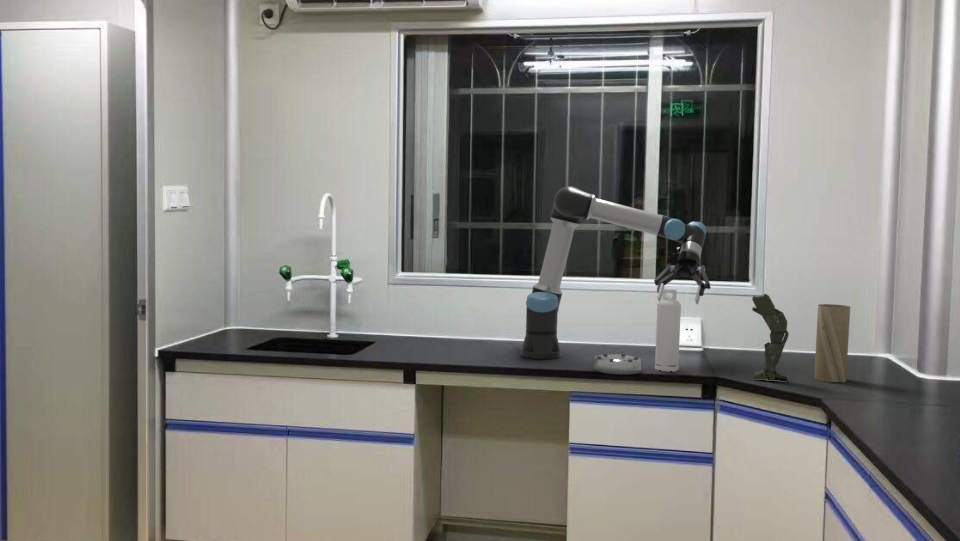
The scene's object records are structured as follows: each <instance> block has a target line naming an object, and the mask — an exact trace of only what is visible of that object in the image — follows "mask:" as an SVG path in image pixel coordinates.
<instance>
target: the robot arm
mask: <svg viewBox="0 0 960 541" xmlns="http://www.w3.org/2000/svg"><path fill="white" fill-rule="evenodd" d="M582 219H583V220H585V221H588V220H590V219H593V220H596V221H600V222H604V223H609V224H613V225H616V226H620V227H623V228H627V229H632V230H635V231H639V232H644V233H647V234H650V235H654V236H658V237H662V238H665V239H669V240H672V241H674V242H677V243H680V244H681V248H680V251H679V255H678V257H677V263H676V264H675V265H673V264H671V263H667V265H666V267H665V268H664V269H663V270H662V271H661V272H660V274H658V275H657V276H656V278H654V280H653V282H654V285H655V286H657V289H656V292H657V296H656V297H657V300H658V302H659V301H661V300H662V297H663V289H665V286H666V285H667V284H669V283H671V282H672V281H673V280H675V279H678V278H691V279H692V280H693V281H694V282H695V283H696V284H697V285H698V286H697V290H696V294H695V298H694V301H695V305H699V302H700V298H701V297H703V296H704V294H705V291H706V290H711V283H710V280H709V278H708V275H707V273H706V266H705V265H704V264H702V265H701V266H699V262H700V258H701V254H702V250H703V246H704V243H705V239H706V236H707V235H706V234H707V227H706V225H704V223H703V222H700V221H690V222H689V223H688V224H687V223H684V222H683V221H682V220H681V219H678V218H672V217H669V216H666V215H664V214H658V213H654V212H651V211H646V210H643V209H638V208H634V207H631V206H627V205H624V204H620V203H616V202H613V201H608V200H605V199H600V198H597V197H596V196H595V194H592V193H589V192H587V191H586V192H585V191H583V190H581V189H580V188H577V187H575V186H572V185H571V186H569V185H568V186H564V187H562V188H559V190H558V191H557V193H556V194H555V196H554V199H553V205H552V210H551V214H550V220H551V221H552V227H551V230H550V234H549V237H548V243H547V246H546V250H545V255H544V258H543V262H542V266H541V267H542V268H541V271H540V274H539V277H538V282H537V283H535V284H534V285H533V287H532V290H531V293H529V294H528V295H527V297H526V300H525V301H526V302H525V305H526V314H525V315H526V318H525V320H526V321H525V336H524V339H523V343H522V346H521V349H520V356H521V357H522V358H526V359H535V360H556V359H560V358H561V357H562V349H561V347H560V342H559V340H558V313H559V310H560V306H561V305H560V304H561V300H562V295H563V292H562V290H561V285H562V280H563V275H564V272H565V268H566V264H567V260H568V257H569V253H570V248H571V244H572V241H573V237H574V232H575V229H576V228H577V227H579V226H580V225H581V221H582ZM697 272H699V273H700V274H701V276H702V279H703V281H702V279H701V277H699V276H698V274H697Z"/></svg>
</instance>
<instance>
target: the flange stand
mask: <svg viewBox="0 0 960 541" xmlns="http://www.w3.org/2000/svg"><path fill="white" fill-rule="evenodd" d="M593 357H594V358H593V359H594V360H593V361H594V362H593V370H594V371H596V372H599V373H603V374H609V375H622V376H623V375H637V374H639V373H641V370H642V368H641V367H642V366H641V365H642V359H641V358H640V357H639V356H638V355H634V356H632V355H628V354H626V353H625V352H622V353H621V354H616V353H615V354H610V353H609V354H608V352H603V353H602V354H599V355H595V356H593Z"/></svg>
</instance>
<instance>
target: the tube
mask: <svg viewBox="0 0 960 541" xmlns="http://www.w3.org/2000/svg"><path fill="white" fill-rule="evenodd" d="M816 317H817V320H816V336H815V337H816V338H815V339H816V340H815V354H814V355H815V359H814V373H813V374H814V377H813V379H814V378H815V379H814V380H816V379H817V380H816V381H819V380H820V381H819V382H823V381H826V383H831V382H843V383H846V382H847V372H848V371H847V370H848V351H849V339H850V338H849V336H850V321H851V320H850V319H851V318H850V317H851V306H850V305H845V304H844V305H843V304H832V303H831V304H830V303H821V304H818V305H817V316H816Z"/></svg>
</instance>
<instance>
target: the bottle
mask: <svg viewBox="0 0 960 541" xmlns="http://www.w3.org/2000/svg"><path fill="white" fill-rule="evenodd" d="M668 293H670V294H668ZM667 294H668V295H667ZM671 295H672V296H671ZM681 311H682V304H681V302H679V301H678V300H677V289H671V288H670V289H669V288H668V289H667V288H664V289H663V295H662V298H661V301H658V302H657V308H656V325H655V326H656V328H655V329H656V331H655V350H654V351H655V354H654V355H655V358H654V363H655V364H654V369H655V370H656V369H657V370H656V371H659V370H661V372H670V371H672V372H678V371H679V360H680V341H681V340H680V336H681V317H682V316H681V315H682V313H681ZM677 370H678V371H677Z"/></svg>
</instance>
